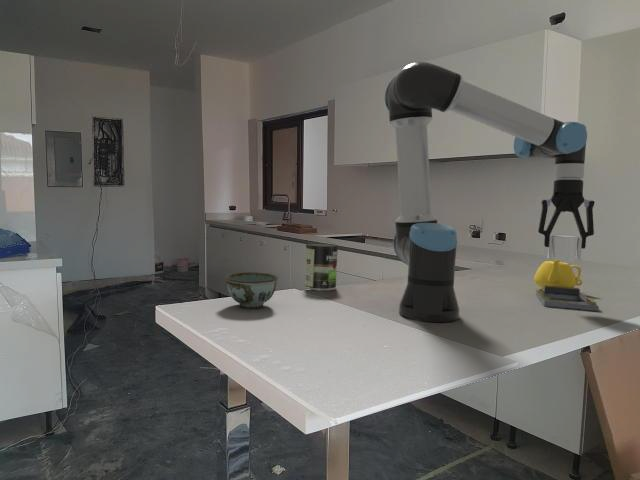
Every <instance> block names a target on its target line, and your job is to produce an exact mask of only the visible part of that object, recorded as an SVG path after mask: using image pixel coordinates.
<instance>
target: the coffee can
mask: <svg viewBox="0 0 640 480" xmlns="http://www.w3.org/2000/svg"><path fill="white" fill-rule="evenodd" d="M305 248H306V251H305V274H304V276H305V278H304V279H305V280H304V288H305V289H307V290H309V291H310V290H311V291H321V292H329V291H335V290H336V289H337V272H338V271H337V268H338V250H339V249H338V248H339V245H338V244H335V243H322V242H320V243H319V242H318V243H317V242H313V243H312V242H311V243H306V244H305Z"/></svg>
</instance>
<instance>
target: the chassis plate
mask: <svg viewBox="0 0 640 480" xmlns="http://www.w3.org/2000/svg"><path fill="white" fill-rule="evenodd" d="M542 288H543V291H541V290H536V292H535V295H536V297H537V298H538V300H539V301H540V303H541V305H543V307H546V308H547V307H549V308H555V309H556V308H557V309H559V308H560V309H566V308H570V309H569V310H577V309H580V310H579V311H588V310H589V311H591V312H599V308H600V307H599V305H598V304H597V301H595V300H594V299H593V298H591V297H588V296H586V295H585V294H583V293H580V291H581V289H580V288H579V287H575V286H574V287H562V286H550V285H544V286H543V287H542ZM561 299H565V300H561ZM573 300H575V301H573ZM579 301H580V302H579Z"/></svg>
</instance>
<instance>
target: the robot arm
mask: <svg viewBox="0 0 640 480" xmlns="http://www.w3.org/2000/svg"><path fill="white" fill-rule="evenodd" d="M390 80H391V81H389V83H388V84H387V87H386V90H385V93H384V103H385V106H386V109H387V111H388V117H389V118H388V119H389V124H390V125H391V126H392V127H393V128H394V129H395V142H396V143H395V144H396V158H397V160H396V161H397V162H396V163H397V179H398V194H399V195H398V196H399V211H400V212H399V213H400V214H399V216H398V217H397V218H396V219H395V221H394V222H395V234H394V236H393V237H394V238H393V240H392V241H393V243H392V245H393V251H394V252H395V254H396V256H397V257H398V259H399V260H400V261H401V262H403V263H404V264H405V265H408V268H407V284H406V287H405V289H404V291H403V292H404V293H403V295H402V297H401V299H400V302H399V308H398V313H399V315H401V316H403V317H405V318H407V319H411V320H414V321H415V320H416V321H421V322H430V323H431V322H432V323H449V322H454V321H457V320H459V319H460V307H459V303H458V299H457V296H456V292H455V286H454V285H455V273H456V272H455V271H456V259H457V246H458V238H457V236H458V235H457V231H456V229H455V228H454V227H452V226H450V225H447V224H442V223H438V217H436V216H435V215H434V214H433V212H432V200H431V180H430V160H429V159H430V158H429V141H428V140H429V139H428V125H429V124H430V123H431V121H432V120H433V110H436V111H440V112H442V113H446V112H448V111H450V112H454V113H455V114H458V115H461V116H463V117H466V118H468V119H471V120H473V121H476V122H478V123H480V124H483V125H486V126H488V127H491V128H493V129H495V130H498V131H501V132H503V133H506V134H509V135H511V136H513V137H514V139H513V140H514V141H513V151H514V154H515V155H516V156H517V157H518V158H526V159H530V158H534V159H535V158H537V159H538V158H540V159H542V158H546V159H547V158H548V159H549V158H551V159H554V175H553V176H554V178H555V180H554V181H553V190H552V191H553V192H552V196H551V198H547V199H542V200H540V204H541V213H540V220H539V224H538V230H537V232H538V234H540V235H543V236H544V239H543V240H544V241H543V242H544V243H543V245H544V247H545V248H547V256H546V257H547V259H548V260H552V258H553V249H552V241H553V237H552V236H553V235H551V234H552V232H553V229H554V228H555V225H556V223H557V221H558V219H559V217H560V215H561V213H565V212H569V213H572V215H573V217H574V221H575V224H576V227H577V229H578V232H579V236H577V237H578V243H577V249H576V255H575V260H577V261H581V259H582V258H581V257H582V249H583V250H585V249H586V244H587V243H586V242H587V238H588V237H591V236H593V235H594V234H595V230H594V210H593V208H594V206H595V203H596V202H595V201H594V200H591V199H590V200H589V199H585V197H584V194H583V193H584V192H583V190H584V181H583V178H585V163H586V161H585V159H586V149H587V148H586V146H587V140H588V131H587V126H586V125H585V124H584V123H580V122H577V121H566V122H563V121H560V120H559V119H556V118H554V117H551V116H548V115H546V114H544V113H541V112H538V111H536V110H534V109H532V108H529V107H527V106H524V105H521V104H519V103H517V102H515V101H513V100H511V99H507V98H506V97H502V96H500V95H498V94H496V93H493V92H492V91H488V90H486V89H483V88H481V87H479V86H476V85H474V84H472V83H469V82H467V81H464V79H463V76H462V74H459V73H456V72H455V71H452V70H450V69H447V68H445V67H442V66H440V65H437V64H434V63H430V62H424V61H417V62H416V61H415V62H412V63H410V64H407V65H406V66H405V67H403V68H402V69H401V70H400V71H399V73H397V75H395V76H394V77H393V78H392V79H390ZM551 203H552V205H553V206H554V207H555V210H554V212H553V214H552V216H551V219H550V221H549V223H548V225H547V227H546V230H545V225H546V220H547V216H548V207H550V205H551ZM582 204H584V207H585V213H586V216H585V217H586V230H587V231H586V230H585V227H584V226H585V225H584V224H583V223H584V222H583V220H582V218H581V217H582V216H581V214H580V210H579V208H580V206H582Z"/></svg>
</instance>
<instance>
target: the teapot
mask: <svg viewBox="0 0 640 480" xmlns="http://www.w3.org/2000/svg"><path fill="white" fill-rule="evenodd" d="M573 268H576V269H577V271H578V272H577V275H575V273H574V270H573ZM581 274H582V269H581V267H580V266H579V265H577V264H572V265H570V264H569V263H568V262H565V261H558V260H553V257H552V258H551V261H550V260H546V261H543V262H542V263H541V264H540V266H539V267H538V268H537V270H536V272H535V274H534V277H533V281H534V283H535V284H536V285H537V287H540V288H541V290H540V291H543V286H544V285H550V286H562V287H574V288H575V286H577V287H579V286H582V285H583V280H582V279H580V278H581Z"/></svg>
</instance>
